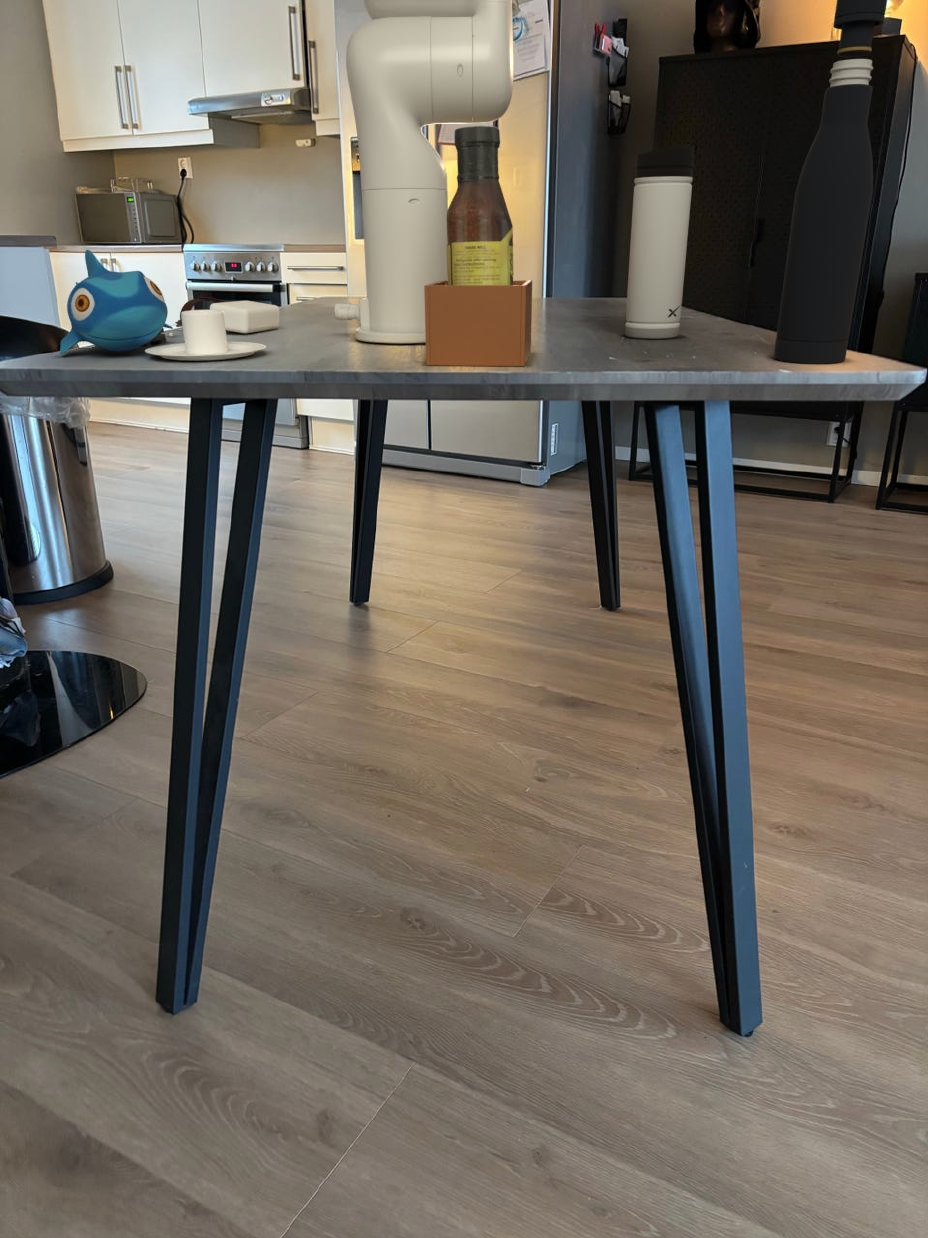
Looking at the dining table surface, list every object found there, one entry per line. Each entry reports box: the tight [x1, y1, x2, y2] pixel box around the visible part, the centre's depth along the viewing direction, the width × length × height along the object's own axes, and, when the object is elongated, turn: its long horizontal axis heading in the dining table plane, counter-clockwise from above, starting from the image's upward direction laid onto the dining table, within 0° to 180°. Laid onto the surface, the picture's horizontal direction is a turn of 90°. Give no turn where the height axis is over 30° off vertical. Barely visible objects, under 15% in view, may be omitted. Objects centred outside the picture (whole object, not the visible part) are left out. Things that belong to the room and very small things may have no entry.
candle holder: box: [144, 309, 267, 362], centre depth 88 cm, size 12×12×4 cm
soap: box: [209, 300, 281, 334], centre depth 111 cm, size 9×6×3 cm, turn 163°
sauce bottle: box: [446, 125, 514, 285], centre depth 81 cm, size 6×6×20 cm
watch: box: [179, 296, 224, 323], centre depth 111 cm, size 8×5×4 cm
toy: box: [59, 249, 174, 355], centre depth 91 cm, size 12×18×10 cm, turn 37°
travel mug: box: [624, 142, 699, 340], centre depth 98 cm, size 6×7×20 cm
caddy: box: [424, 279, 533, 367], centre depth 84 cm, size 9×9×7 cm
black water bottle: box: [773, 0, 888, 365], centre depth 77 cm, size 6×6×30 cm
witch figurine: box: [168, 319, 183, 338], centre depth 112 cm, size 5×12×2 cm, turn 176°
